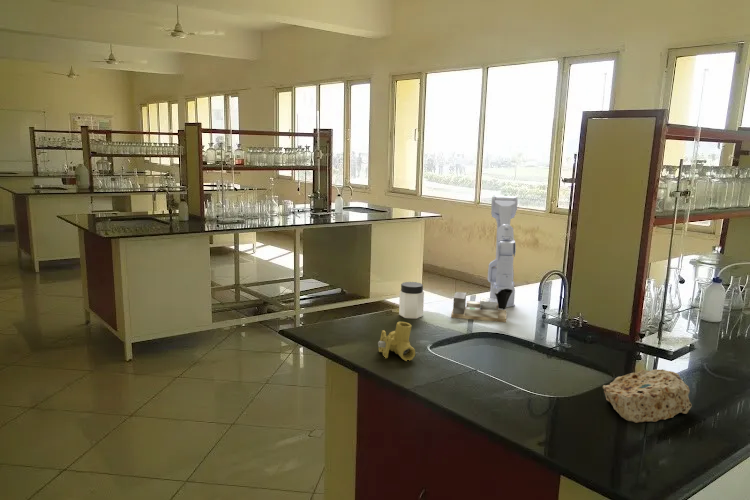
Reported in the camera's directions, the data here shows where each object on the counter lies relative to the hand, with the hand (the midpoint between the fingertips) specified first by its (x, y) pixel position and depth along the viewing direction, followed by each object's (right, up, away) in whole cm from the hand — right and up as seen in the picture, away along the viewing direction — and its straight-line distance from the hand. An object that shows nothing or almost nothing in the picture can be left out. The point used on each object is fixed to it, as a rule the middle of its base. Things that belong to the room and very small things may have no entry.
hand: (502, 308), depth 210 cm
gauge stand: (-8, -3, +2) cm, 9 cm away
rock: (+19, -17, -71) cm, 76 cm away
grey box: (-5, -2, 0) cm, 6 cm away
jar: (-34, -3, 0) cm, 34 cm away
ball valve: (-42, -10, -39) cm, 58 cm away
